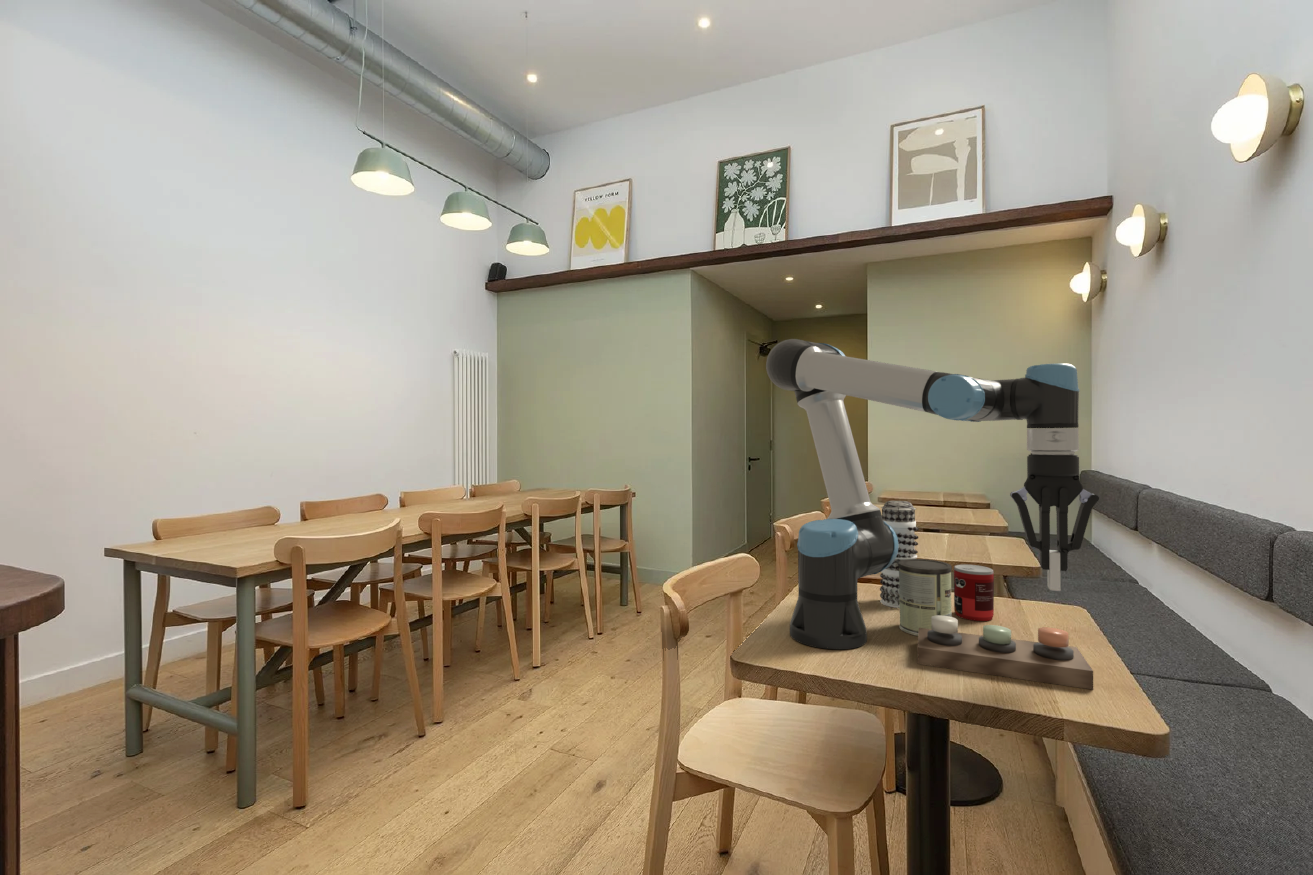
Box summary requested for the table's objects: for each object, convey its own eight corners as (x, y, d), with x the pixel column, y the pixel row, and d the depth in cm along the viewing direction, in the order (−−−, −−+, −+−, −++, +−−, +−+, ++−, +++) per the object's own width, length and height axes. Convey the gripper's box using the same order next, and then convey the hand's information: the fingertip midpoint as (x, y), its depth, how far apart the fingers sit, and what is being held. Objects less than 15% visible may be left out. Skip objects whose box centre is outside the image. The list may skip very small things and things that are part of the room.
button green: (984, 642, 105) (984, 630, 105) (982, 634, 109) (982, 623, 109) (1012, 645, 103) (1012, 634, 103) (1009, 637, 107) (1009, 626, 107)
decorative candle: (908, 598, 149) (908, 499, 149) (926, 608, 140) (925, 503, 140) (872, 598, 149) (872, 499, 149) (888, 609, 140) (887, 504, 140)
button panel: (917, 663, 106) (917, 641, 106) (918, 642, 117) (918, 622, 117) (1093, 689, 95) (1093, 664, 95) (1076, 663, 106) (1076, 640, 106)
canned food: (957, 609, 140) (956, 562, 140) (995, 615, 135) (995, 567, 135) (951, 617, 133) (951, 568, 133) (991, 623, 129) (991, 573, 129)
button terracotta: (1040, 645, 101) (1040, 633, 101) (1036, 637, 105) (1036, 625, 105) (1071, 648, 100) (1071, 636, 100) (1065, 640, 104) (1065, 629, 104)
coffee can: (899, 620, 132) (899, 557, 132) (951, 626, 127) (951, 560, 127) (897, 634, 122) (897, 566, 122) (952, 641, 118) (952, 570, 118)
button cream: (931, 631, 109) (931, 620, 109) (931, 624, 113) (931, 614, 113) (958, 634, 107) (958, 623, 107) (957, 627, 111) (957, 617, 111)
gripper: (1011, 453, 102) (1013, 590, 102) (1104, 453, 96) (1105, 598, 96) (1006, 452, 109) (1007, 580, 109) (1092, 452, 103) (1094, 587, 103)
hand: (1053, 588), depth 102 cm, fingers closed
